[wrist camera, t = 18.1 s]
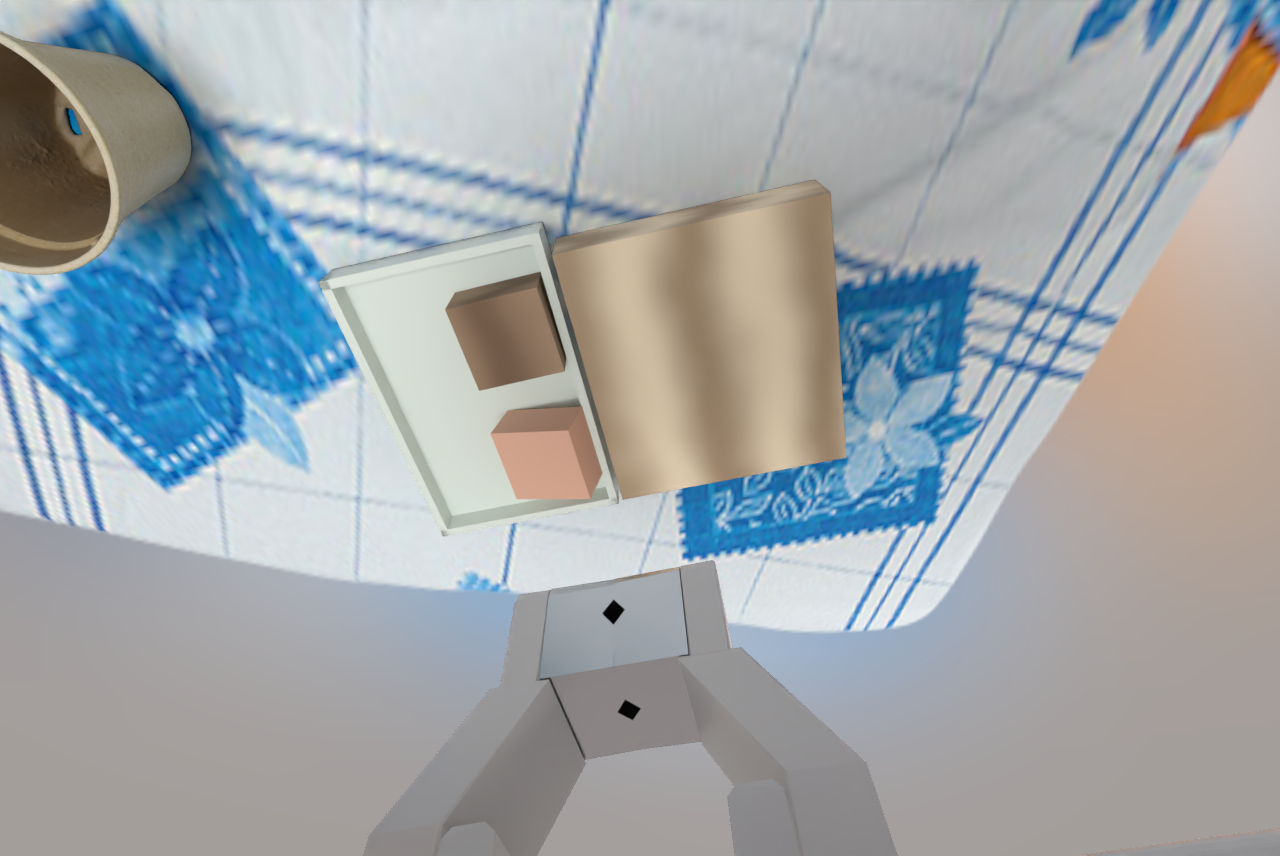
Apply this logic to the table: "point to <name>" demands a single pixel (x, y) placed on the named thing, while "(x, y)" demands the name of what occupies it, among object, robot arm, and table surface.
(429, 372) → the tray
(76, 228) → the flower pot
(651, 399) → the board
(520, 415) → the terracotta tile
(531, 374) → the walnut tile
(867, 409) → the table surface
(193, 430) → the table surface
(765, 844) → the robot arm
